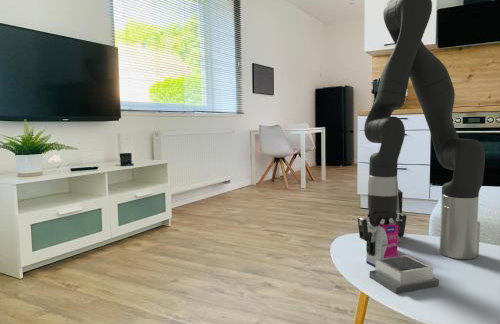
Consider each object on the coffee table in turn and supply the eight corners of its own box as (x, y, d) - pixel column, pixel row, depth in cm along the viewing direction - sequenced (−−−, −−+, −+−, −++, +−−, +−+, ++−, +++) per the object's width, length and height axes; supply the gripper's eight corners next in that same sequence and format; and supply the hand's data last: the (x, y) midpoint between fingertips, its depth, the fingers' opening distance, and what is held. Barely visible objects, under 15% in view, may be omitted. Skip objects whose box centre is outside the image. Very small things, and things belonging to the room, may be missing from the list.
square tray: (409, 270, 101) (409, 253, 100) (438, 285, 91) (439, 267, 91) (369, 277, 97) (369, 259, 97) (395, 293, 88) (396, 274, 87)
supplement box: (380, 270, 101) (381, 227, 100) (365, 262, 107) (366, 221, 105) (397, 266, 104) (398, 224, 102) (382, 259, 109) (382, 219, 108)
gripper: (396, 188, 109) (394, 246, 111) (351, 191, 104) (350, 252, 106) (415, 192, 102) (413, 254, 103) (367, 197, 97) (366, 261, 99)
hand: (381, 253), depth 105 cm, fingers closed on supplement box, 6 cm apart
